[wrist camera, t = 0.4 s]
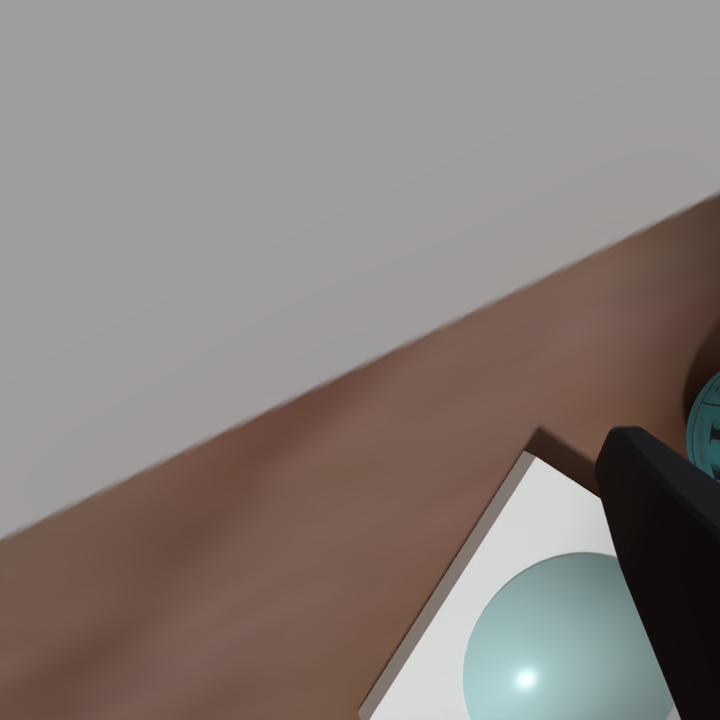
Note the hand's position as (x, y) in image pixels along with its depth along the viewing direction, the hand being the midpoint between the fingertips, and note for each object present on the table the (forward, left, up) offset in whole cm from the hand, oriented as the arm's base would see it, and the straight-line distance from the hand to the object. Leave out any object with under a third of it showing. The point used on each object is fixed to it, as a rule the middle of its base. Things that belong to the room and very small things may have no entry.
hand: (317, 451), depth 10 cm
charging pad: (-16, -3, -15) cm, 22 cm away
